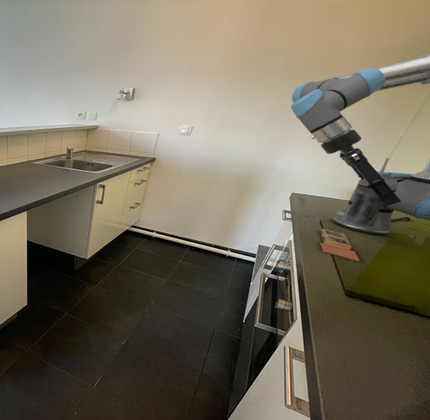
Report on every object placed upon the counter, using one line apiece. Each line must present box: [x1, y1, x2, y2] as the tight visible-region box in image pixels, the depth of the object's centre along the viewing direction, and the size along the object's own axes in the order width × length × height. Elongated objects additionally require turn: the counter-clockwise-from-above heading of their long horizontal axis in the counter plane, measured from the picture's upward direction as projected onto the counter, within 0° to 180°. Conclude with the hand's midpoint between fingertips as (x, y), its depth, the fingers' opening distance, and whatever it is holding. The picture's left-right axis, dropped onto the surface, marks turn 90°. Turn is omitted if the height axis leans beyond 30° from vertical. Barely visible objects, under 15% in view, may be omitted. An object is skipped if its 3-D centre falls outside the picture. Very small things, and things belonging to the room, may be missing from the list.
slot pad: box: [319, 242, 360, 262], centre depth 80 cm, size 8×8×1 cm
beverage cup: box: [345, 157, 397, 226], centre depth 72 cm, size 7×7×20 cm
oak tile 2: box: [321, 235, 352, 250], centre depth 84 cm, size 6×6×2 cm
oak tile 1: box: [319, 228, 349, 241], centre depth 89 cm, size 6×6×2 cm
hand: (388, 200), depth 71 cm, fingers closed on beverage cup, 7 cm apart
